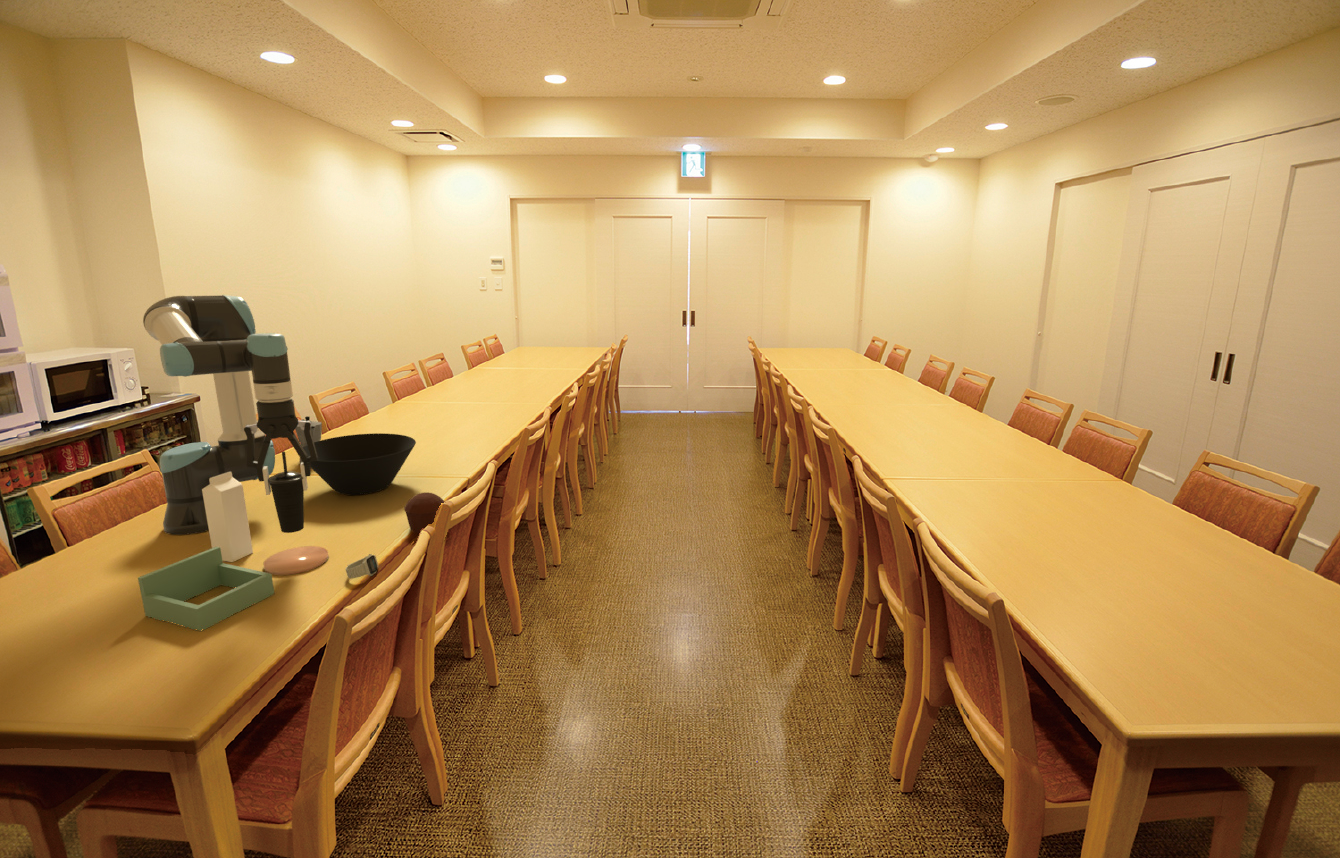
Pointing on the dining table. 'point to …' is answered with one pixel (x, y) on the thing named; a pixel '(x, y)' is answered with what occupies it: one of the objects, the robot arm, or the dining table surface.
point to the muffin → (422, 510)
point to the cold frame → (201, 590)
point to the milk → (227, 517)
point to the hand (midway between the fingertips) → (287, 491)
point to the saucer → (295, 560)
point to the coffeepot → (314, 430)
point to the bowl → (360, 461)
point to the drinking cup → (288, 498)
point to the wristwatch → (362, 567)
